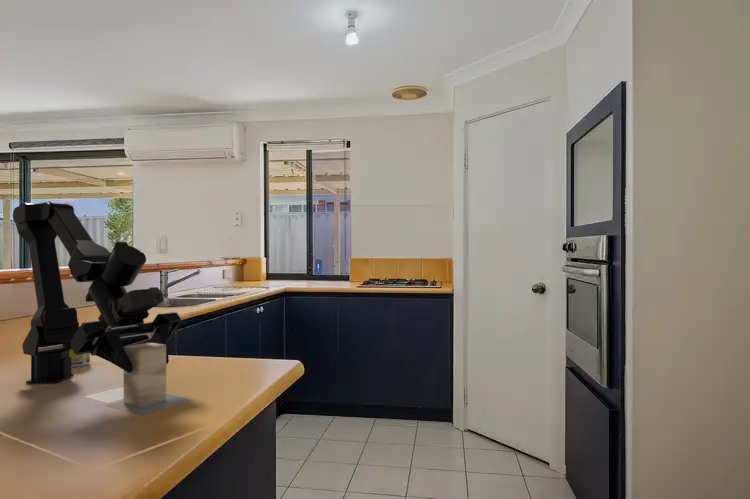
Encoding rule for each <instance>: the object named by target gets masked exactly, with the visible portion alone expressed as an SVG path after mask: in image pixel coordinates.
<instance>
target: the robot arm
mask: <svg viewBox="0 0 750 499" xmlns="http://www.w3.org/2000/svg"><path fill="white" fill-rule="evenodd" d="M12 219H13V222H14V223H15V227H16V231H17V234H18V235H19V236H20V237H21V238H22V240H24V241H25V242H26V244H28V248H29V249H28V250H29V256H30V262H31V269H32V277H33V283H34V289H35V290H34V291H35V296H36V304H37V309H36V311H35V312H34V315H32V318H31V320H30V330H29V331H28V332H27V335H26V337H25V338H24V340H23V341H22V344H21V345H22V351H23V355H27V356H30V379H28V380H26V381H25V384H31V385H32V384H58V383H60V382H63V381H65V380H67V379H70V378H72V377H74V375H75V374H74V373H72V367H71V357H69V350H71V349H72V350H73V352H74V354H76V355H80V354H86V353H90V356H92V357H93V356H94V357H95V356H96V357H99V358H101V359H102V360H105V361H107V362H110V363H111V364H113V365H114V366H116V367H118V368H119V369H122V370H123V371H124V370H125V371H126V372H128V373H131V372H132V371H133V366H132V363H131V361H130V359H129V357H128V355H127V354H126V352H125V350H124V346H123V345H122V343H121V339H125V338H131V337H137V336H143V335H145V336H147V338H148V339H149V340H148V341H147V343H149V342H150V343H157V344H165V345H166V366H167V365H168V364H169V361H170V360H169V359H170V357H169V351H168V340H169V339H171V338H172V337H173V335H174V334H175V332H176V331H177V330H178V328H179V326H180V325H181V323H182V322H183V320H182V319H181V317H180V315H179V314H178V312H165V313H157V314H156V316H155V317H154V319H153V321H152V322H146V323H145V321H144V320H145V319H148V317H149V315H150V313H149V310H151V309H153V308H156V307H158V305H160V304H161V303H163V302H164V296H163V293H162V291H161V289H159V287H158V286H151V287H149V288H146V289H145V288H142V289H133V290H130V291H127V290H126V288H125V287H128V286H130V285H132V284H133V283H134V282H135V280H136V279H137V277H138V275H139V273H140V272H141V270H142V269H143V267H144V265H145V264H146V262H147V257H146V254H145V253H144V252H142V251H141V250H140V249H138V248H136V247H134V246H132V245H129V243H128V242H127V241H116V242H115V244H114V245H113V247H112V251H111V252H110V250H109V249H107V248H106V247H104V246H102V245H100V244H98V243H96V242H95V241H94V240H93V238H92V237H91V235H90V234H89V233H88V231H87V230H86V228H85V226H84V225H83V224H82V222H81V221H80V219H79V218H78V216H77V215H76V214H75V208H74V206H73V205H72V204H70V203H68V202H60V201H47V202H46V201H45V202H42V203H41V202H40V203H33V202H32V203H30V202H21V203H20V204H19V205H18V206H16V207H15V208H14V209H13V211H12ZM57 237H58V239H59V240H60V242H61V243H62V245H63V246H64V248H65V250H66V251H67V253H68V255H69V257H70V258H69V260H68V264H67V267H68V269H69V272H70V275H71V276H72V278H73V280H74V281H76V283H90V282H92V283H91V284H90V286H89V288H88V292H87V293H86V295H85V302H87V303H89V302H90V303H91V302H94V303H95V305H96V308H97V310H98V311H99V313H100V314H99V315H98V318H97V320H96V321H95V320H94V321H87V322H86V321H85V322H81V323H79V319H78V310H77V309H76V308H75V307H70V306H69V305H67V303H66V301H65V296H64V290H63V285H62V277H61V271H60V267H59V266H60V265H59V259H58V253H57V247H56V246H57V245H56V238H57ZM79 325H80V326H79Z"/></svg>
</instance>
